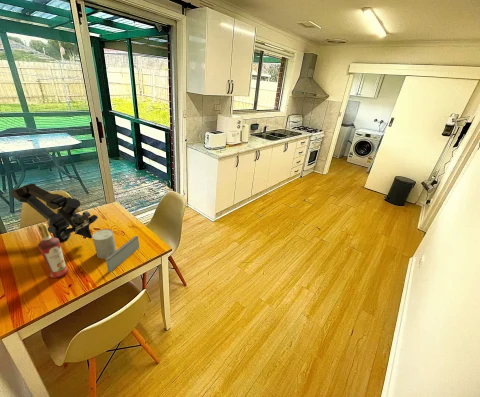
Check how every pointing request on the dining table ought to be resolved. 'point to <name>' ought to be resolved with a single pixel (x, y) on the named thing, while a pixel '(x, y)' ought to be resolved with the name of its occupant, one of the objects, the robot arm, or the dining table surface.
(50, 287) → the dining table surface
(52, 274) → the liquor
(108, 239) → the grey stubby cylinder
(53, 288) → the dining table surface
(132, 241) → the grey rectangular panel
